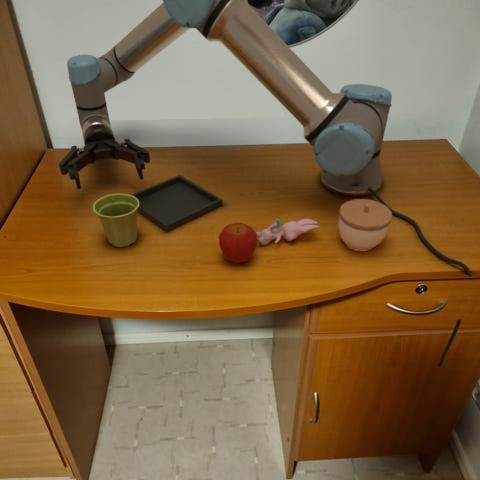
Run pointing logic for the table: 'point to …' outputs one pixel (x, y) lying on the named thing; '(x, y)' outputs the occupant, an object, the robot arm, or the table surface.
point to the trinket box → (363, 223)
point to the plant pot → (118, 218)
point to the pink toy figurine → (285, 230)
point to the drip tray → (175, 202)
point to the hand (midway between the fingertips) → (109, 178)
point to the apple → (238, 242)
